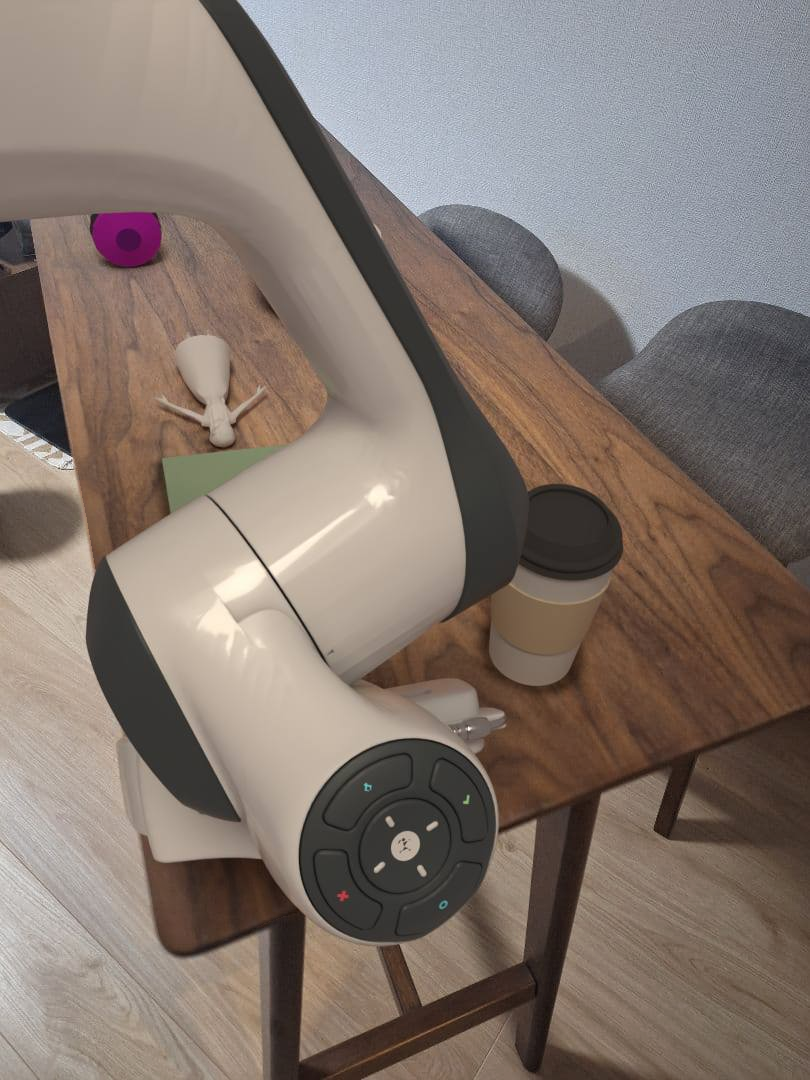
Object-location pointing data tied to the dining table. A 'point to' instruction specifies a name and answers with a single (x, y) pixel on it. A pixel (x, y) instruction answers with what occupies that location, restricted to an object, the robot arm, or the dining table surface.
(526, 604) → the coffee cup
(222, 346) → the woman figurine
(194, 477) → the mat
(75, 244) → the dining table surface
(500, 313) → the dining table surface
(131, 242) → the headphones
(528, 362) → the dining table surface
